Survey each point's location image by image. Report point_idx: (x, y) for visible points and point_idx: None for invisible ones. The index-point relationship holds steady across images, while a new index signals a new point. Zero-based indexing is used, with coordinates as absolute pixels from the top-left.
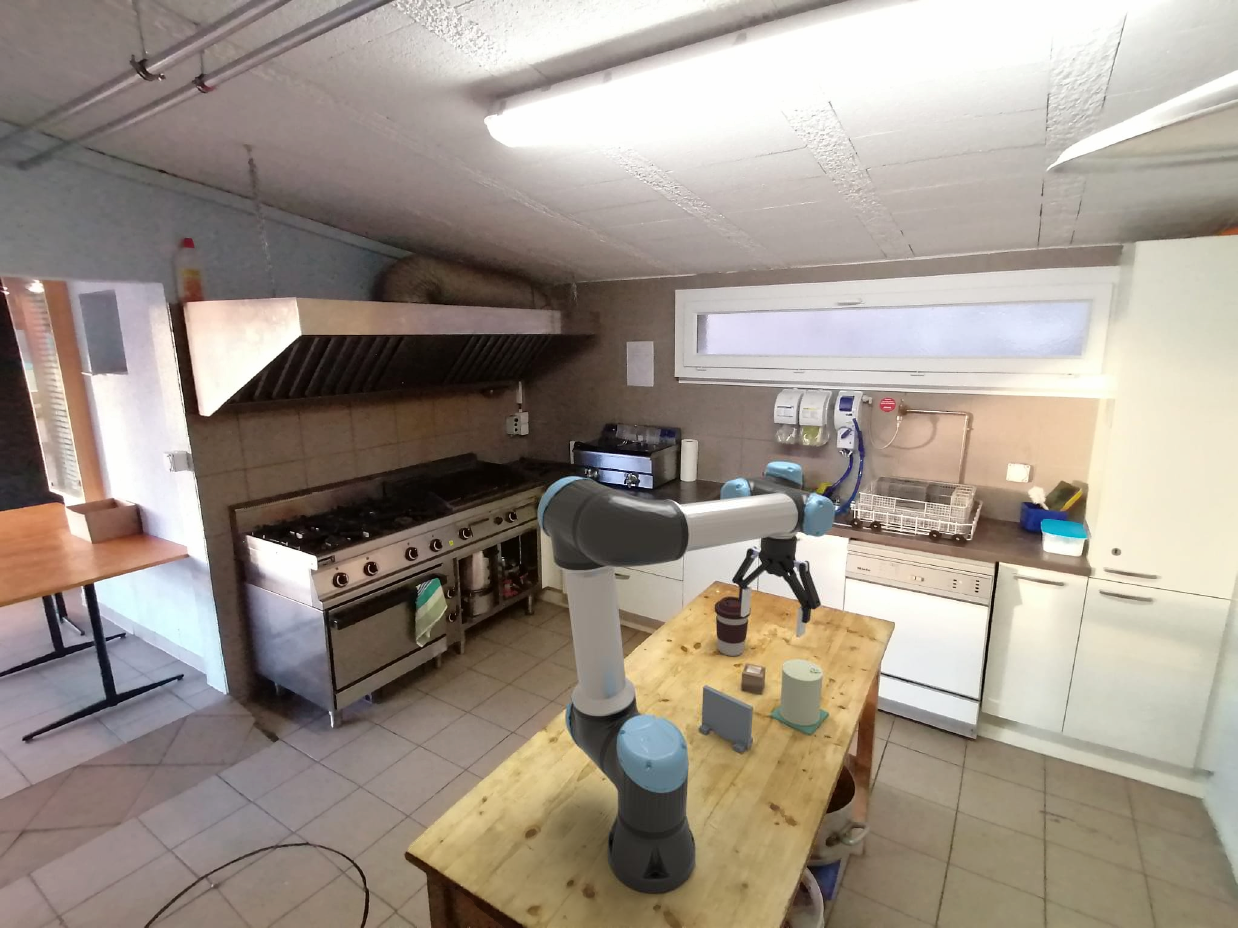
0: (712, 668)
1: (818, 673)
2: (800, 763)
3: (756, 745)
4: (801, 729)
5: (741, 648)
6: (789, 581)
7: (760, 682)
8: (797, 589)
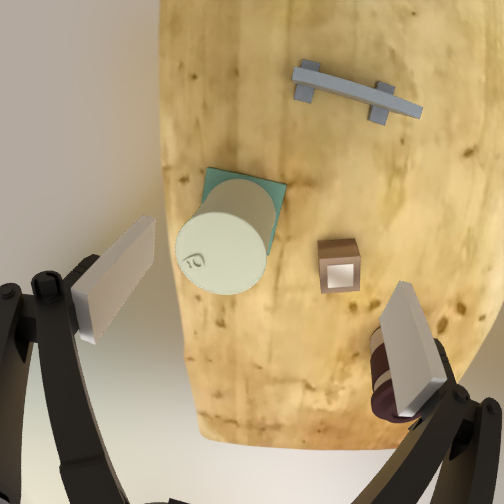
0: (413, 278)
1: (185, 256)
2: (203, 88)
3: (285, 93)
4: (223, 171)
5: (374, 340)
6: (81, 452)
7: (322, 252)
8: (45, 389)
